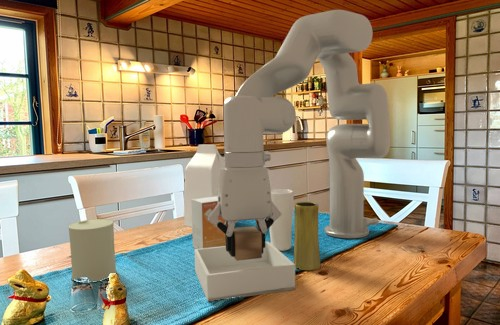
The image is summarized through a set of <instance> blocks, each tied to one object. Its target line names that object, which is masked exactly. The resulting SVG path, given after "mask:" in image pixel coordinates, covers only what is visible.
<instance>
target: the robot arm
mask: <svg viewBox="0 0 500 325" xmlns="http://www.w3.org/2000/svg"><path fill="white" fill-rule="evenodd" d="M372 39H373V28H372V25H371V21H370V20H369V19H368V18H367V17H366V16H365V15H363V14H360V13H355V12H352V11H349V10H344V9H331V10H326V11H323V12H317V13H313V14H307V15H304V16H301V17H300V18H298V19H296V21H295V22H294V23H293V24H292V26H291V28H290V30H289V31H288V34H287V35H286V36H285V38H284V40H283V42H282V45H281V46H280V48H279V50H278V51H277V53H276V55H275V56H274V58H272V59H271V60H270V61H268V62H266V63H265V64H264V65H263V66H261V67H260V68H259V69H257V71H255V72H253V74H251V75H250V76H249V77H248V78H247V79H246V80H245V81H244V82H243V83H242V85H240V87H239V89H238V90H237V92H236V94H235V96H229V97H226V98H225V100H224V102H223V135H224V136H223V140H224V142H223V143H224V148H223V149H224V160H225V168H221V170H220V175H219V184H218V204H217V205H216V207H215V208H214V209H213V211H212V212H211V213H210V215H209V216H208V220H209V222H211V223H212V224H214V225H215V226H216V227H218V228H219V229H220V230H221V231H222V232H224V233H225V237H226V251H227V252H229V254H230V255H231V256H232V257H234V256H235V237H234V236H233V230H234V228H235V226H236V223H237V222H238V221H250V220H252V221H253V220H255V223H256V228H257V229H258V230H259V231H260V232H262V254H263V248H265V242H266V233H267V232H268V230H270V229H269V228H270V226H271V225H272V224H273V223H274V221H276V220H277V219H278V218H279V217H280V216H281V212H280V211H279V210H278V208H277V207H276V206H275V205H274V204H273V202H272V199H271V190H272V189H271V183H270V177H269V172H268V168H267V167H266V166H265V164H266V162H270V161H271V154H269V153H265V152H266V151H264V135H279V134H284V133H286V132H288V131H290V129H291V128H293V126H294V124H295V122H296V116H297V114H296V109H295V106H294V105H293V103H292V102H291V101H290V100H289V99H287V98H285V97H282V96H275V95H276V94H279V93H281V92H284V91H286V90H289V89H292V88H293V87H296V86H298V85H299V84H301V83H303V82H304V81H305V80H306V79H307V78H308V77H309V76H310V73H311V71H312V69H313V66H314V64H315V62H316V60H318V61H319V62H320V64H321V66H322V68H323V70H324V74H325V81H326V93H327V94H326V95H327V102H328V110H329V114H330V116H331V117H332V119H335V120H340V121H355V120H359V121H360V120H364V121H365V120H366V121H367V123H343V124H336V125H334V126H332V127H331V128H329V130H328V131H327V133H326V140H325V141H326V149H327V154H328V161H329V225H326V226H325V227H324V233H325V235H328V236H330V237H334V238H338V239H339V238H340V239H361V238H364V237H365V238H366V237H367V236H369V234H370V229H369V228H368V227H370V226H377V225H379V222H380V221H379V218H377V217H373V218H369V217H365V216H364V209H365V208H364V202H365V200H364V192H365V191H364V190H365V189H364V185H365V184H364V180H365V174H364V173H365V172H364V170H363V168H362V166H361V164H360V163H359V161H358V159H383V158H384V157H386V156H387V155H388V153H389V151H390V148H391V129H390V128H391V127H390V110H389V108H390V107H389V98H388V97H389V96H388V94H387V91H386V89H385V88H384V86H383V85H381V84H379V83H374V82H373V83H372V82H371V83H359V76H358V75H359V74H358V66H357V63H356V61H355V60H354V59H353V57H352V56H351V55H350V54H351V53H359V52H362V51H363V52H364V51H365V50H366V49H367V48H369V46H370V45H371V43H372ZM219 215H220V216H222V218H223V219H224V220H226V221H225V225H224V224H223V223H222V222H221V221H220V220H218V219H217V217H218V216H219Z"/></svg>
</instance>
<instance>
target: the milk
mask: <svg viewBox="0 0 500 325" xmlns="http://www.w3.org/2000/svg"><path fill="white" fill-rule="evenodd" d="M221 168H225V158H224V157H222V155H221V154H220V152H219V150H218V148H217V145H216V144H198V145H197V149H196V152H195V153H194V155H193V156H192V158H191V159H190V160H189V162H188V163H187V165H186V166H185V170H184V190H183V191H184V192H183V193H184V196H183V198H184V200H183V204H184V205H183V226H184V227H189V228H192V202H191V200H192V199H200V198H206V197H215V196H218V184H219V175H220V170H221Z"/></svg>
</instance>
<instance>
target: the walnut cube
mask: <svg viewBox="0 0 500 325" xmlns="http://www.w3.org/2000/svg"><path fill="white" fill-rule="evenodd" d="M257 228H258V227H256V226H253V225H252V226H243V227H241V226H240V227H234V230H233V236H234V237H235V256H234V258H235V259H236V261H239V260H248V259H257V258H262V232H260V231H259V230H258V229H257Z"/></svg>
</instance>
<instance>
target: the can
mask: <svg viewBox="0 0 500 325" xmlns="http://www.w3.org/2000/svg"><path fill="white" fill-rule="evenodd" d="M114 232H115V231H114V220H111V219H106V218H95V219H94V218H93V219H85V220H80V221H75V222H73V223H70V224H69V225H68V234H69V244H70V245H69V246H70V257H71V258H70V261H71V281H72V280H74V279H76V278H80V277H88V278H89V281H91V282H93V281H100V280H102V279H104V278H107V277H108V276H109V274H110V273H116V274H117V269H116V268H117V266H116V250H115V237H114V236H115V234H114Z"/></svg>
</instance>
